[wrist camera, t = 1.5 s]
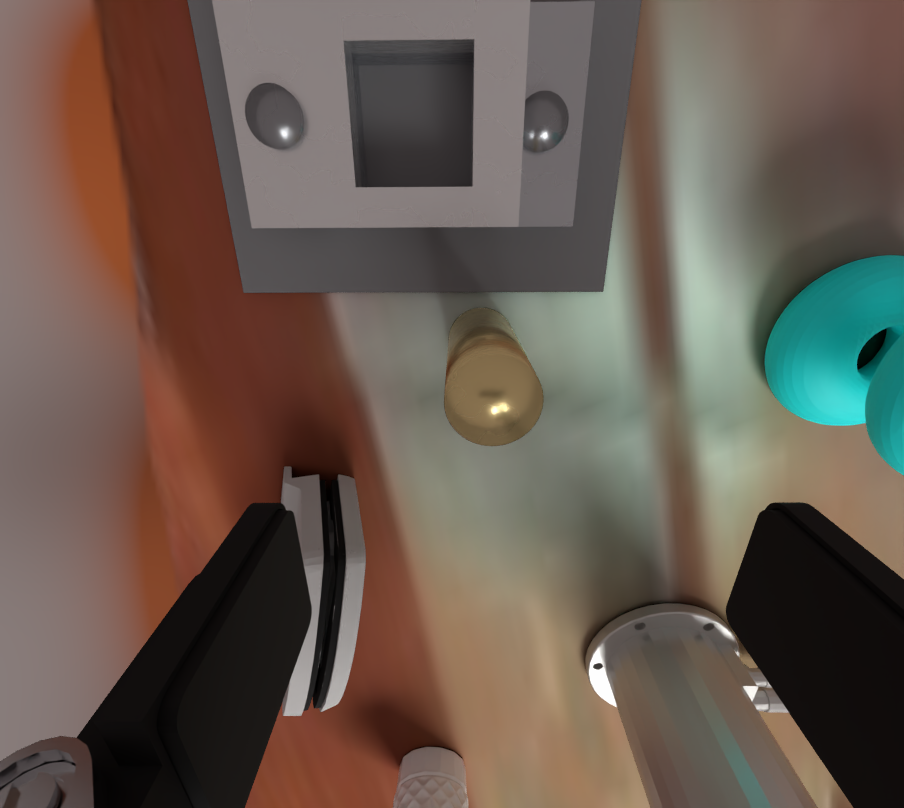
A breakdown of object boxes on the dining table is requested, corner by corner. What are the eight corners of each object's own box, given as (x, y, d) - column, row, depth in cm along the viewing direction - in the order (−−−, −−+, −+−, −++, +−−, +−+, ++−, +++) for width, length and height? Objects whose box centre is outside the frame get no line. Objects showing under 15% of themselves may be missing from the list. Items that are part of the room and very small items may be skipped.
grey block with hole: (585, 16, 20) (610, -24, 16) (566, 226, 23) (583, 226, 20) (244, 20, 20) (203, -19, 17) (276, 227, 23) (246, 228, 20)
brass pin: (514, 307, 25) (547, 354, 16) (511, 370, 27) (539, 446, 18) (448, 307, 26) (443, 354, 16) (448, 370, 27) (444, 445, 18)
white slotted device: (284, 461, 30) (281, 570, 21) (352, 462, 32) (374, 563, 23) (269, 626, 36) (262, 760, 28) (326, 619, 38) (336, 742, 30)
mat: (648, -80, 19) (652, -88, 18) (600, 290, 25) (603, 291, 25) (178, -73, 19) (172, -80, 19) (247, 291, 25) (243, 292, 25)
